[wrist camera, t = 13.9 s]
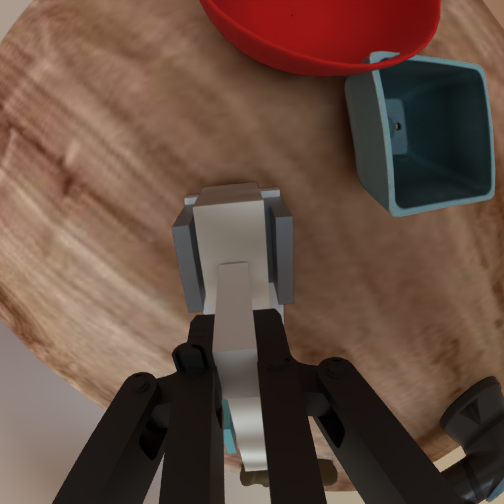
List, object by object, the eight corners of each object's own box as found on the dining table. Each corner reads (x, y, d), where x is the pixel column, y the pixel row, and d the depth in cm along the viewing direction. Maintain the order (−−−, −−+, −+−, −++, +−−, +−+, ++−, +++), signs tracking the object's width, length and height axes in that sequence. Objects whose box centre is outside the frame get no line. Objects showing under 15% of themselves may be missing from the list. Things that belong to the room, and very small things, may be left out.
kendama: (258, 448, 39) (348, 459, 43) (231, 466, 42) (317, 477, 46) (260, 479, 33) (354, 484, 37) (231, 493, 36) (321, 500, 41)
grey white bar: (271, 435, 31) (276, 468, 26) (243, 438, 31) (245, 471, 26) (256, 182, 19) (263, 200, 14) (202, 187, 19) (192, 207, 14)
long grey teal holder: (282, 412, 33) (288, 450, 28) (228, 416, 33) (228, 455, 28) (277, 187, 22) (292, 208, 17) (186, 195, 22) (170, 219, 16)
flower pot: (318, 76, 19) (368, 49, 10) (413, 75, 18) (485, 65, 10) (336, 185, 22) (390, 220, 14) (424, 173, 22) (495, 199, 14)
